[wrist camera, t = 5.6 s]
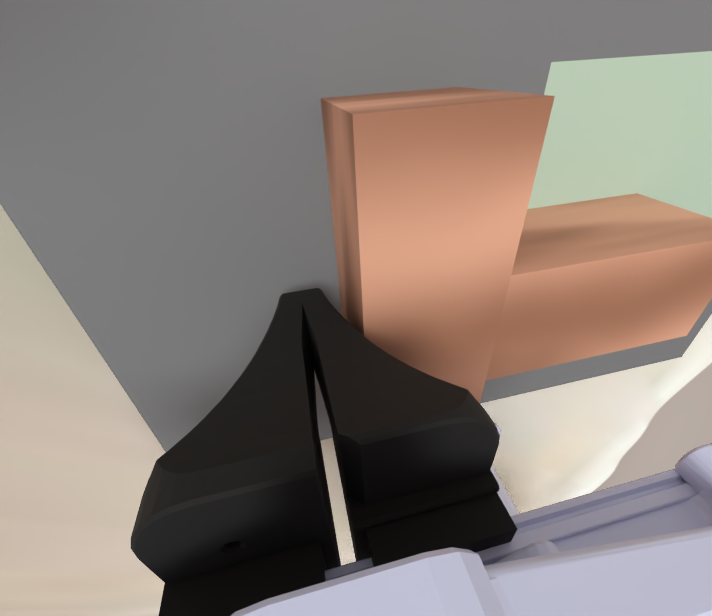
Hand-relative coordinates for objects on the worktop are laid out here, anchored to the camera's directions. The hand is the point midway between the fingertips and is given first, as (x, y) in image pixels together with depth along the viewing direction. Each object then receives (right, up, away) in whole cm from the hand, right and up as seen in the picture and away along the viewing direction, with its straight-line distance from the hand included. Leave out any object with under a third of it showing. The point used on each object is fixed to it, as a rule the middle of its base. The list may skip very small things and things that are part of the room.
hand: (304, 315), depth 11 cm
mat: (+7, +2, +3) cm, 8 cm away
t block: (+7, +2, +2) cm, 8 cm away
